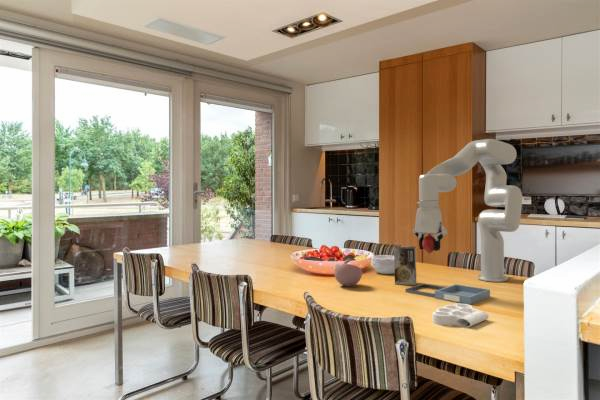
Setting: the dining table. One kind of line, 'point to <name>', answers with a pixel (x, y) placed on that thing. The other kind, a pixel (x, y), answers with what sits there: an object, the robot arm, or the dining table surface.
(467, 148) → the robot arm
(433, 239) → the onion
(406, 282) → the coffee box
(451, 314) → the white multi-well holder
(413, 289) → the bracket
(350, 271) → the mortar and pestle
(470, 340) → the dining table surface
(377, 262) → the paper bowls
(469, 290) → the tray
